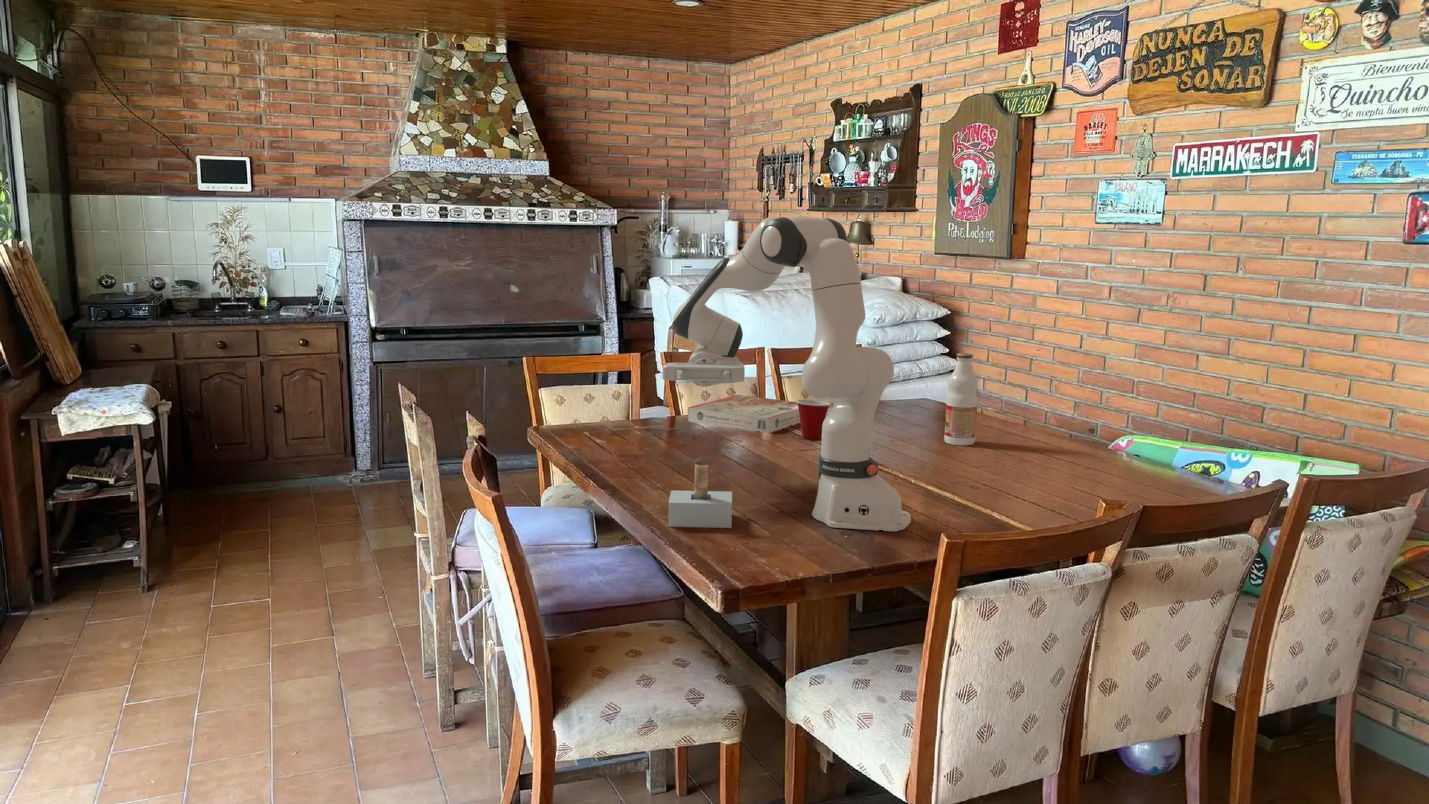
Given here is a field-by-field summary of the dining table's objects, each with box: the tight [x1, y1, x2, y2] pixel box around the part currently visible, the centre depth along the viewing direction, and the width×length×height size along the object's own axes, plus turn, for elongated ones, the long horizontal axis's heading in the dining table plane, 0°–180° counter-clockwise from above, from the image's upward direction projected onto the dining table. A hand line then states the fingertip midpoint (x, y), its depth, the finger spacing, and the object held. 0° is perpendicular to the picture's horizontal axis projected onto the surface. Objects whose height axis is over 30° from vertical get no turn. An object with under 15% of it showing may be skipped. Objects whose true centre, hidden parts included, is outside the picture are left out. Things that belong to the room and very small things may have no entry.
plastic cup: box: [795, 399, 831, 441], centre depth 305 cm, size 11×11×12 cm
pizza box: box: [687, 394, 800, 434], centre depth 333 cm, size 32×5×32 cm
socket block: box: [667, 490, 733, 529], centre depth 218 cm, size 14×10×6 cm
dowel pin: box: [693, 457, 709, 500], centre depth 217 cm, size 3×3×12 cm
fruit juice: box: [943, 352, 979, 447], centre depth 300 cm, size 9×9×28 cm
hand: (702, 377), depth 231 cm, fingers open, 8 cm apart
